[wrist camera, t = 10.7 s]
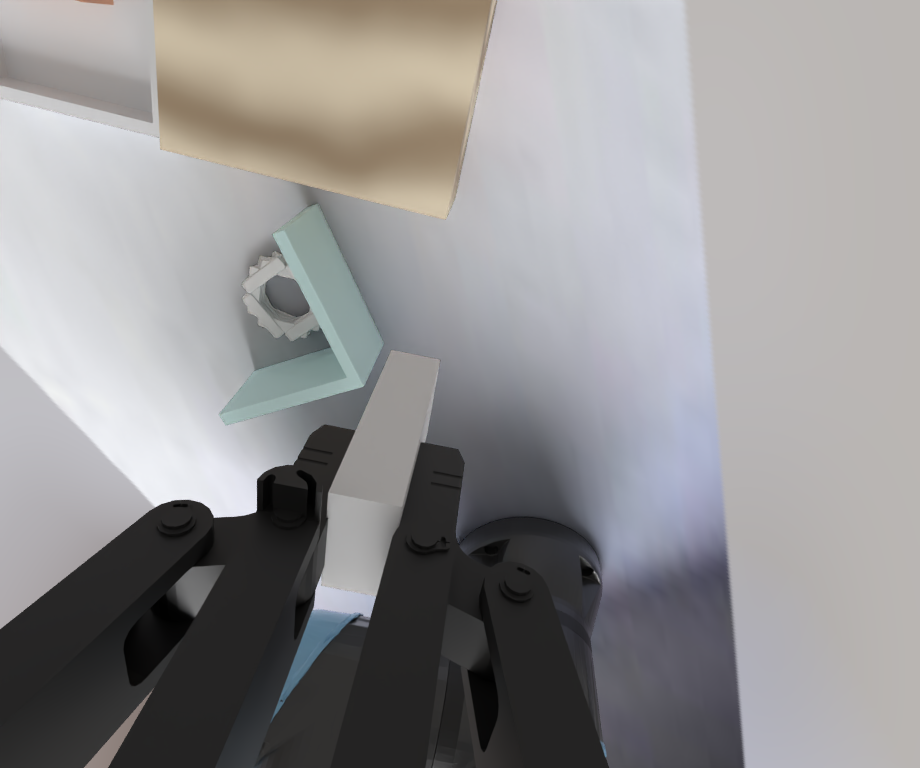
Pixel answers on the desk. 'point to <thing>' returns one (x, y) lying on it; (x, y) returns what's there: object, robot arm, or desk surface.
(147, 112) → the box
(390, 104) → the plate
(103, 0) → the tile
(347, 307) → the l-shaped corner panel
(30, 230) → the desk surface
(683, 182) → the desk surface
